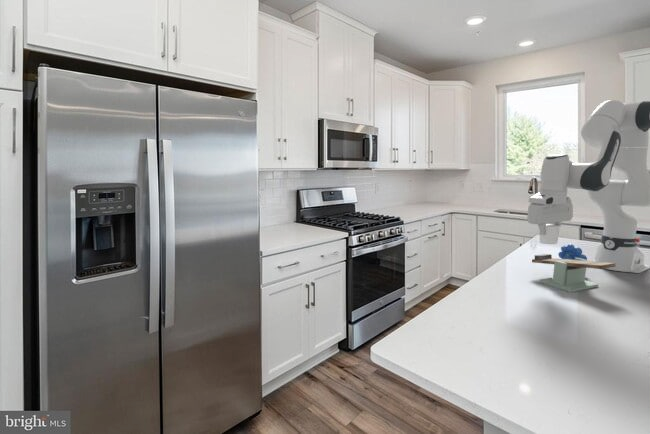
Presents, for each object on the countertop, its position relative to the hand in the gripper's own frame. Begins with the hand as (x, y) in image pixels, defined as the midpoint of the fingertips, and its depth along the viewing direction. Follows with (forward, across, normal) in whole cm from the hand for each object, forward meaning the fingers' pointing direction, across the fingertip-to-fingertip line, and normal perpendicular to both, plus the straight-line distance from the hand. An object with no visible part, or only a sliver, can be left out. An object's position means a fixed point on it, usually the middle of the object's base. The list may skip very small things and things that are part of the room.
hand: (548, 233), depth 136 cm
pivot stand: (+20, -7, +5) cm, 21 cm away
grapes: (+20, -23, -6) cm, 31 cm away
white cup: (+4, 0, 0) cm, 4 cm away
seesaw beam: (+12, -7, +5) cm, 14 cm away
